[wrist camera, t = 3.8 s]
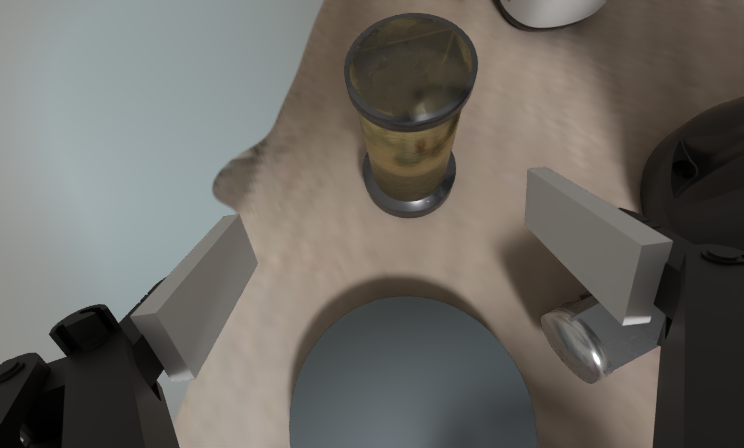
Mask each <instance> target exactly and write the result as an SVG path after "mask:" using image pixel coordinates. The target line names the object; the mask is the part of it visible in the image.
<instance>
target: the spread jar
mask: <svg viewBox="0 0 744 448" xmlns="http://www.w3.org/2000/svg"><path fill="white" fill-rule="evenodd" d="M606 1H607V0H498V4H499V7H500V9H501V12H502V13H503V15H504V16H505V18H506V19H507V20H508V21H509V22H510V23H512V24H513V25H515V26H516V27H518V28H521V29H523V30H527V31H533V32H547V31H554V30H559V29H563V28H566V27H569V26H571V25H574V24H576V23H578V22H580V21H582V20H584V19H586V18H588V17H589V16H591V15H592V14H594V13H595V12H597V11H598V10H599V9H600V8H601V7H602V6H603V5H604V4H605V3H606Z"/></svg>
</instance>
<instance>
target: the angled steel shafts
mask: <svg viewBox="0 0 744 448" xmlns="http://www.w3.org/2000/svg"><path fill="white" fill-rule="evenodd" d="M580 297H581V299H582V301H576V302H567V303H565V304H563V305H561V306H559V307H557V308H555V309H554V310H552V311H550V312H548V313H546V314H544V315H542V317H541V326H542V329H543V331H544V334H545V336H546V338H547V340H548V341H549V343H550V345H551V346H552V348H553V349H554V351H555V352H556V354H557V355H558V356H559V358H560V359H561V360H562V361H563V362H564V364H565V365H566V366H567V367H568V368H569V369H570V370H571V371H572V372H573V373H574V374H575V375H576V376H578V377H579V378H580V379H582V380H583V381H585V382H587V383H590V384H593V383H595V382H597V381H599V380H601V379H603V378H604V377H606V376H608V375H610V374H611V373H612V371H613V370H615V369H617V368H619V367H621V366H623V365H624V364H626V363H628V362H630V361H632V360H634V359H636V358H637V357H639V356H641V355H643V354H645V353H647V352H649V351H650V350H652V349H654V348H656V347H658V346H659V345H657V342H658V338H659V335H660V332H661V329H662V326H663V323H664V319H665V316H666V315H665V314H664V313H663V312H662V311H660V310H659V309H658V308H657V307H656V306H654V309H653V313H652V316H651V319H650V322H649V323H641V324H633V325H625V326H622V325H621V324H620V323H619V322H618V321H617V320H616V319H615V318H614V316H613V315H612V314H611V313H610V312H609V311H608V310H607V309H606V308H605V307H604V306H603V305H602V304H601V303H600V302H599V301H598V300H597V299H596V298H595V297H594V296H593V295H592V294H591V293H590V292H589V291H588V292H586V293H584V294H582V295H580Z"/></svg>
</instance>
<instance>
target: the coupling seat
mask: <svg viewBox="0 0 744 448" xmlns="http://www.w3.org/2000/svg"><path fill="white" fill-rule="evenodd" d="M289 432H290V447H291V448H537V428H536V420H535V414H534V410H533V406H532V402H531V398H530V395H529V392H528V389H527V387H526V384H525V381H524V379H523V377H522V375H521V373H520V371H519V369H518V367H517V365H516V364H515V362H514V361H513V359H512V358H511V356H510V355H509V353H508V352H507V350H506V349H505V348H504V346H503V345H502V344H501V343H500V342H499V340H498V339H497V338H496V337H495V336H494V335H493V334H492V333H491V332H490V331H489V330H488V329H487V328H486V327H484V326H483V325H482V324H481V323H480V322H478V321H477V320H475V319H474V318H473V317H471V316H470V315H468V314H467V313H465V312H463V311H461V310H459V309H458V308H456V307H453V306H451V305H448V304H446V303H443V302H441V301H437V300H433V299H429V298H424V297H416V296H395V297H388V298H382V299H379V300H375V301H371V302H368V303H366V304H364V305H362V306H359V307H357V308H355V309H353V310H352V311H350V312H348V313H347V314H345V315H344V316H342V317H341V318H340V319H338V320H337V321H336V322H335V323H333V324H332V325H331V326H330V327H329V328H328V329H327V330H326V331H325V332H324V333H323V334H322V336H321V337H320V338H319V340H318V341H317V342H316V343H315V345H314V346H313V347H312V349H311V351H310V353H309V354H308V356H307V358H306V359H305V361H304V364H303V366H302V368H301V371H300V373H299V375H298V378H297V381H296V385H295V388H294V391H293V397H292V402H291V408H290V422H289Z"/></svg>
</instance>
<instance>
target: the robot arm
mask: <svg viewBox="0 0 744 448" xmlns="http://www.w3.org/2000/svg"><path fill="white" fill-rule="evenodd" d="M641 200H642V207H643V212H644V215H645V217H644V216H642V215H640V214H639V213H636V212H633V211H629V210H626V209H623V208H616V207H614V206H612V205H611V204H609V203H607V202H606V201H604V200H602V199H600V198H599V197H597V196H595V195H594V194H592V193H590V192H588V191H587V190H585V189H583V188H582V187H580V186H578V185H576V184H575V183H573V182H571V181H570V180H568V179H566V178H564V177H563V176H561V175H559V174H558V173H556V172H554V171H552V170H551V169H549V168H547V167H546V166H544V167H538V168H531V169H527V188H526V206H525V224H524V225H525V226H526V227H527V228H528V229H529V230H530V231H531V232H532V233H533V234H534V235H535V236H536V237H537V238H538V239H539V240H540V241H541V242H542V243H543V244H544V245H545V246H546V247H547V248H548V249H549V250H550V251H551V252H552V253H553V255H554V256H555V257H556V258H557V259H558V260H559V261H560V262H561V263H562V264H563V265H564V266H565V267H566V268H567V269H568V270H569V271H570V272H571V273H572V274H573V275H574V276H575V277H576V278H577V279H578V280H579V281H580V282H581V283H582V284H583V285H584V287H585V288H586V289H587V290H588V291H589V292H590V293H591V294H592V295H593V296H594V297H595V298H596V299H597V300H598V301H599V302H600V303H601V304H602V305H603V306H604V307H605V308H606V309H607V310H608V311H609V312H610V313H611V314H612V315H613V316H614V318H615V319H616V320H617V321H618V322H619V323H620V324H621V325H622V326H625V325H633V324H641V323H649V322H650V319H651V316H652V313H653V309H654V306H656V307H657V308H658V309H659V310H660V311H662V312H663V313H664V314H665V315H666V316H665V319H664V323H663V326H662V329H661V332H660V335H659V338H658V342H657V345H659V346H661V352H660V364H659V376H658V389H657V401H656V413H655V425H654V438H653V448H744V96H743V97H741V98H738V99H735V100H732V101H729V102H726V103H723V104H720V105H718V106H715V107H713V108H711V109H709V110H707V111H705V112H703V113H701V114H699V115H697V116H696V117H694V118H693V119H691V120H690V121H688V122H687V123H686V124H684V125H683V126H681V127H680V128H678V129H677V130H676V131H674V132H673V133H671V134H670V135H669V136H668V137H666V138H665V139H664V140H663V141H662V142H661V143H660V144H659V145H658V146H657V148H656V149H655V150H654V152H653V153H652V155H651V156H650V158H649V160H648V162H647V164H646V167H645V170H644V173H643V178H642V184H641ZM257 264H258V262H257V259H256V257H255V254H254V251H253V249H252V246H251V243H250V241H249V238H248V235H247V233H246V230H245V228H244V225H243V222H242V220H241V217H240V214H236V215H230V216H224V217H223V218H222V219H221V220H220V221H219V222H218V223H217V224H216V225H215V226H214V227H213V228H212V229H211V230H210V231H209V233H208V234H207V235H206V236H205V237H204V238H203V239H202V240H201V241H200V242H199V243H198V244H197V245H196V246H195V247H194V249H193V250H192V251H191V252H190V253H189V254H188V255H187V256H186V257H185V259H183V260H182V261H181V263H179V265H178V266H177V267H176V268H175V269H174V270H173V271H172V272H171V273H170V274H169V275H168V276H167V277H165V278H164V279H163V280H161V281H160V282H158V283H157V284H156V285H155V286H154V287H153V288H152V289H151V290H150V291H149V292H148V295H145V296H144V297H143V298H142V299H141V301H140V303H138V304H137V305H136V306H135V307H134V308H133V309H132V310H131V311H130V312H129V313H128V315H126V316H125V317H124V318H123V319H122V320H121V321H120V322H119V323H118V322H117V321H116V319H115V317H114V316H113V315H112V313H111V312H110V310H109V309H108V307H107V306H106V305H103V304H98V305H93V306H89V307H86V308H83V309H81V310H78V311H77V312H75V313H73V314H71V315H69V316H67V317H66V318H65V319H63V320H61V321H60V322H59V323H57V325H55V326H54V327H53V328H52V329H51V331H50V333H49V335H50V336H51V338H52V339H53V340H54V341H55V342H56V344H57V345H58V346H59V347H60V349H61V350H62V351H63V352H64V354H65V355H66V356H67V357H64V358H62V359H59V360H55V361H53V362H50V363H47V364H46V363H45V361H44V360H43V359H42V358H41V357H40V356H39V355H38V354H37V353H27V354H23V355H20V356H17V357H15V358H13V359H9V360H7V361H5V362H3V363H2V364H1V365H0V448H180V447H179V444H178V441H177V437H176V434H175V430H174V427H173V424H172V420H171V417H170V414H169V410H168V407H167V404H166V400H165V397H164V394H163V390H162V387H161V386H160V384H159V383H158V381H157V379H158V377H159V375H160V374H161V373H162V371H163V370H165V372H166V373H167V375H168V377H169V378H170V380H171V381H172V382H177V381H185V380H193V379H195V378H196V377H197V375H198V373H199V371H200V369H201V367H202V365H203V364H204V362H205V360H206V358H207V356H208V354H209V353H210V351H211V349H212V347H213V345H214V343H215V342H216V340H217V338H218V336H219V334H220V332H221V331H222V329H223V327H224V325H225V323H226V321H227V320H228V318H229V316H230V314H231V312H232V310H233V309H234V307H235V305H236V303H237V301H238V299H239V298H240V296H241V294H242V292H243V290H244V288H245V286H246V285H247V283H248V281H249V279H250V277H251V275H252V274H253V272H254V270H255V268H256V266H257ZM20 437H21V438H22V439H23V440H24V441H23V443H22V441H21V440H20Z"/></svg>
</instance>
